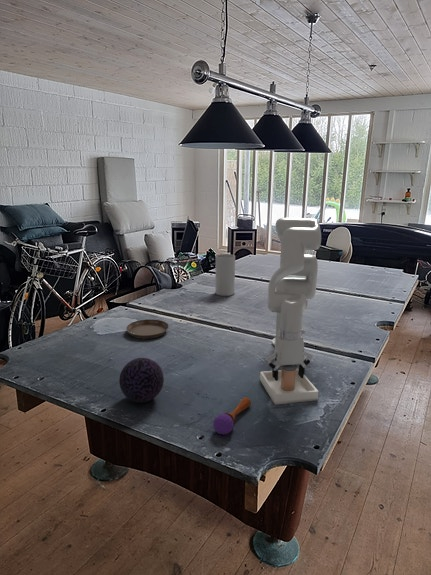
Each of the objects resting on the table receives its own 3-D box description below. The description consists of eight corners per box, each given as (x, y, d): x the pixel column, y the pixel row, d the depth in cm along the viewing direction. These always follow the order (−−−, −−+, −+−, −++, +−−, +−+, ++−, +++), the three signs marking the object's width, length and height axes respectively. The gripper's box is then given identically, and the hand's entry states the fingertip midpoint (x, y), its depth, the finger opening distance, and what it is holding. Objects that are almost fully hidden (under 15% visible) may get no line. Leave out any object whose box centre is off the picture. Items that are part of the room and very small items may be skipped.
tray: (259, 380, 157) (260, 371, 156) (298, 376, 160) (299, 368, 159) (274, 404, 141) (275, 395, 140) (317, 400, 144) (318, 391, 143)
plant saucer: (161, 342, 192) (160, 336, 192) (119, 339, 196) (119, 332, 195) (174, 327, 212) (174, 321, 211) (136, 323, 216) (135, 317, 215)
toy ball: (166, 388, 151) (164, 350, 147) (162, 410, 137) (160, 369, 133) (124, 388, 151) (122, 350, 147) (116, 411, 136) (114, 370, 132)
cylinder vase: (237, 292, 272) (238, 255, 266) (228, 297, 262) (228, 258, 255) (221, 289, 279) (222, 253, 272) (211, 294, 268) (211, 256, 262)
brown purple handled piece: (256, 398, 138) (229, 424, 120) (252, 413, 139) (225, 441, 122) (240, 390, 140) (212, 415, 123) (236, 405, 142) (208, 432, 125)
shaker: (278, 384, 152) (279, 362, 150) (291, 383, 153) (293, 361, 151) (283, 391, 147) (284, 368, 145) (297, 390, 148) (298, 367, 146)
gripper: (309, 328, 150) (306, 371, 154) (263, 331, 147) (262, 375, 151) (318, 336, 143) (314, 380, 147) (270, 339, 139) (268, 385, 144)
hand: (288, 377), depth 149 cm, fingers open, 9 cm apart
